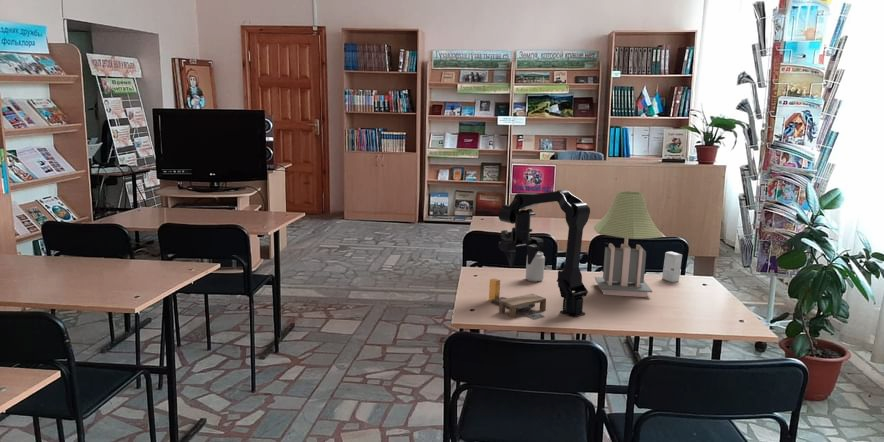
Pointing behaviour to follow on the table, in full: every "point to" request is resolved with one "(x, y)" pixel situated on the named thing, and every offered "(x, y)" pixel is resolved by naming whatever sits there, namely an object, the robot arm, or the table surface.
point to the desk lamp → (626, 245)
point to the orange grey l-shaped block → (495, 292)
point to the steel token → (534, 315)
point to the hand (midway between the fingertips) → (520, 265)
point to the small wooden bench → (521, 303)
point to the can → (535, 268)
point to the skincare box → (672, 266)
